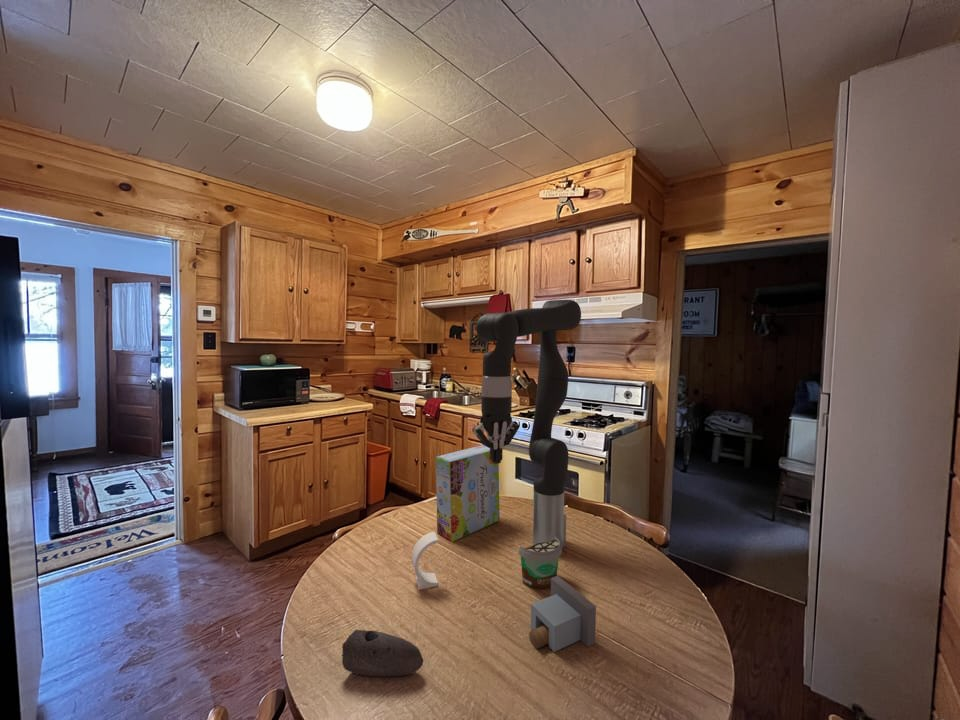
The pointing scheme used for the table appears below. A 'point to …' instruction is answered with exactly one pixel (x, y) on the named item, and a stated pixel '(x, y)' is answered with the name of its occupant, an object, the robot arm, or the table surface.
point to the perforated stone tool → (380, 654)
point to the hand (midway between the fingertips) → (495, 462)
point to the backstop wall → (577, 608)
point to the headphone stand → (422, 577)
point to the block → (557, 621)
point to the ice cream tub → (540, 563)
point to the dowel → (539, 636)
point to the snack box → (466, 492)
